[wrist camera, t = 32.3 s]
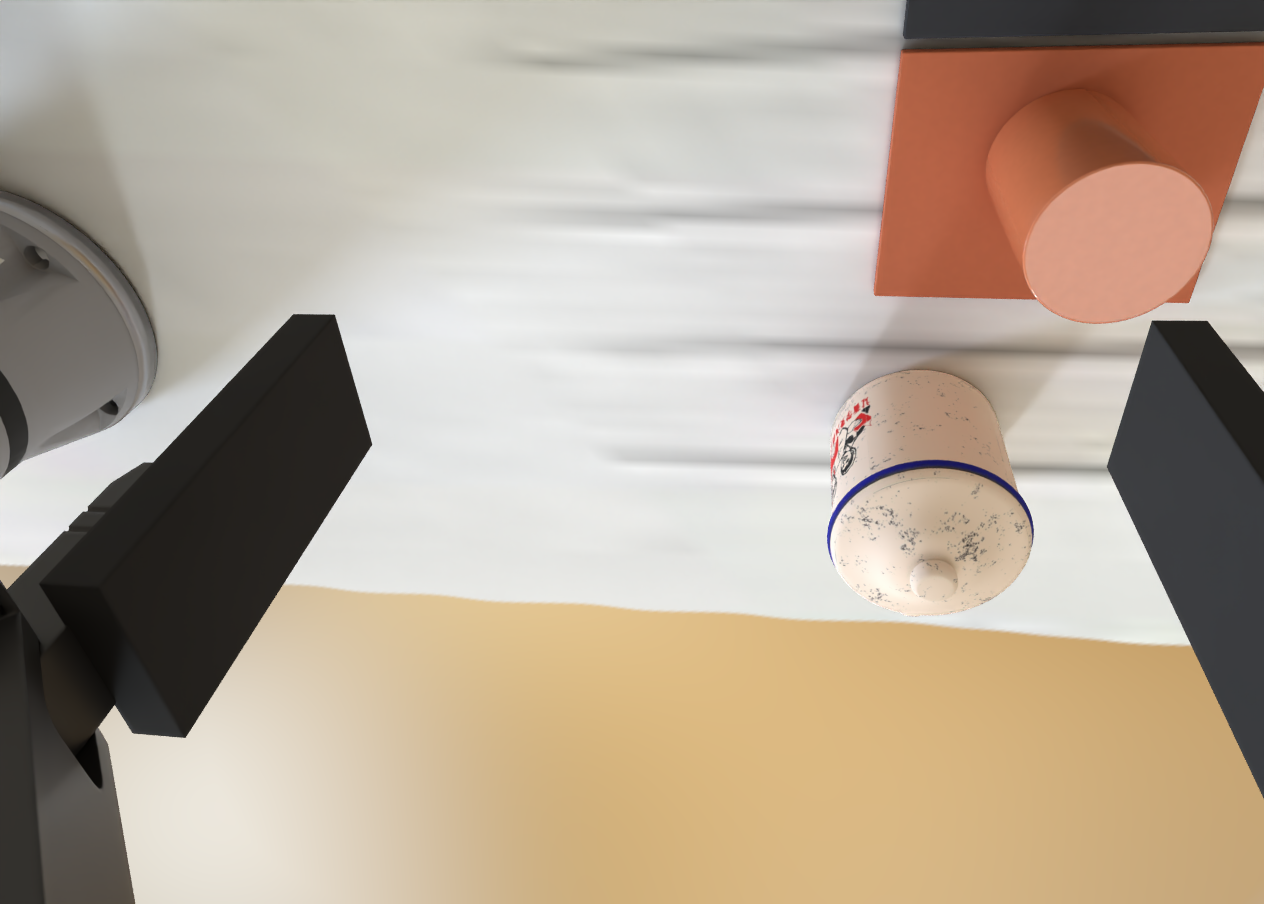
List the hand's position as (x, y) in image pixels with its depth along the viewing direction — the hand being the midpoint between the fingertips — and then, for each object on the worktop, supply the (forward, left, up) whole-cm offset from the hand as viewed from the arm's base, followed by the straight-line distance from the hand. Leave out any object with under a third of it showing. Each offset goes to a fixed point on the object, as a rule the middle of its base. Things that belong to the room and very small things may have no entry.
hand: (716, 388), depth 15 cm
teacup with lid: (+8, -22, -29) cm, 37 cm away
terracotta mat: (+12, -6, -28) cm, 31 cm away
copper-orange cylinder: (+12, -5, -28) cm, 31 cm away
